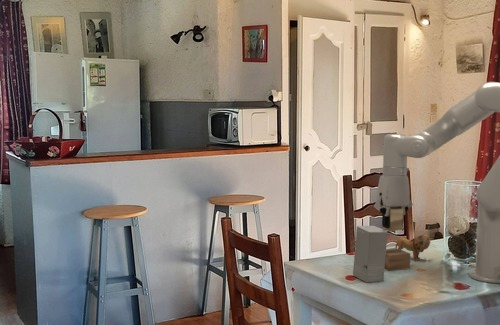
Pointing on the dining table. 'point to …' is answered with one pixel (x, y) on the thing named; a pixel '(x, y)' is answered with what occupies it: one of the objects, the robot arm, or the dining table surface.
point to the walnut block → (397, 259)
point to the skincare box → (370, 253)
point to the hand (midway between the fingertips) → (392, 226)
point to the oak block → (395, 219)
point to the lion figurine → (414, 245)
